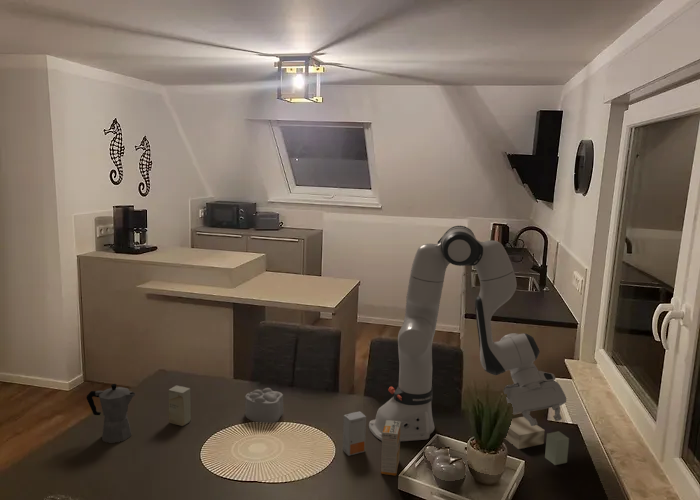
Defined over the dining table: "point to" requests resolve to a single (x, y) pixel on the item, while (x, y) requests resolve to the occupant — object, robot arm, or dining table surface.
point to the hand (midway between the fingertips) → (546, 422)
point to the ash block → (524, 433)
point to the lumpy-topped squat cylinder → (264, 405)
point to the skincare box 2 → (354, 433)
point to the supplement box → (390, 447)
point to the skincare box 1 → (179, 405)
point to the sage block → (556, 448)
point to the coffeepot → (113, 412)
